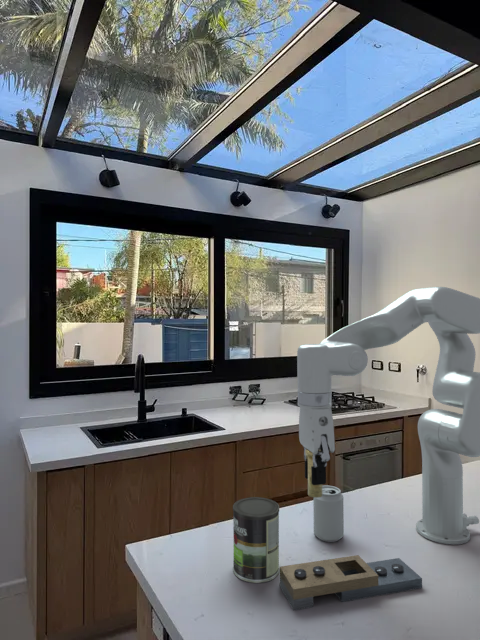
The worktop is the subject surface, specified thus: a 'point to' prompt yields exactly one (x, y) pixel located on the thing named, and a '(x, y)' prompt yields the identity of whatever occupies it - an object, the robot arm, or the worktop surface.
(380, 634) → the worktop surface
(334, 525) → the can
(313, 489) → the pin
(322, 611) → the worktop surface
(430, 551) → the worktop surface
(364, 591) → the peg hole board
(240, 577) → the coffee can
